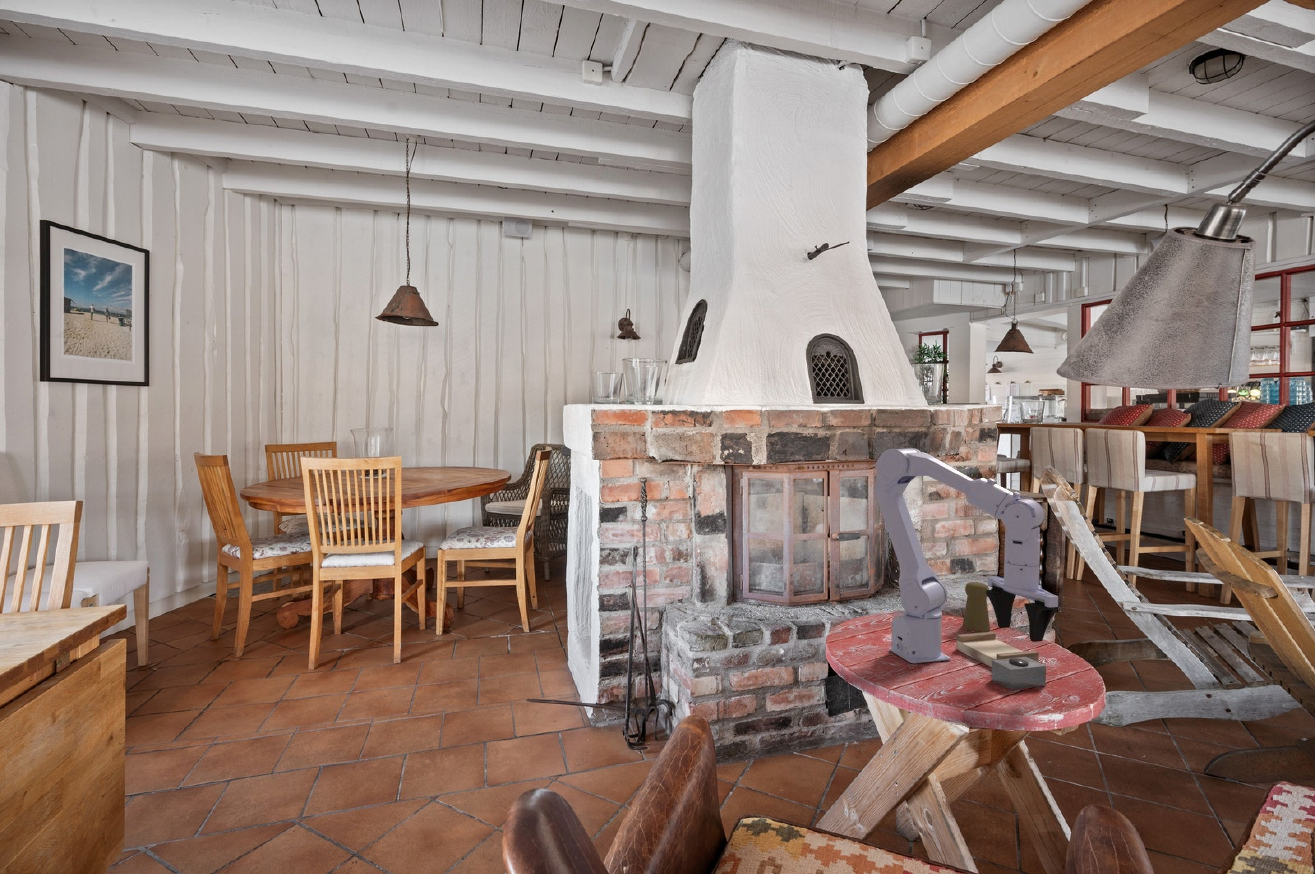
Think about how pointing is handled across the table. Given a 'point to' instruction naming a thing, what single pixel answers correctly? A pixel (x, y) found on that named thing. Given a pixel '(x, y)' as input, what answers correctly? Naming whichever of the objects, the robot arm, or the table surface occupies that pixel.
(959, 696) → the table surface
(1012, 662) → the housing
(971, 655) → the stand
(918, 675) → the table surface
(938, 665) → the table surface
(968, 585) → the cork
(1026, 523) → the robot arm
